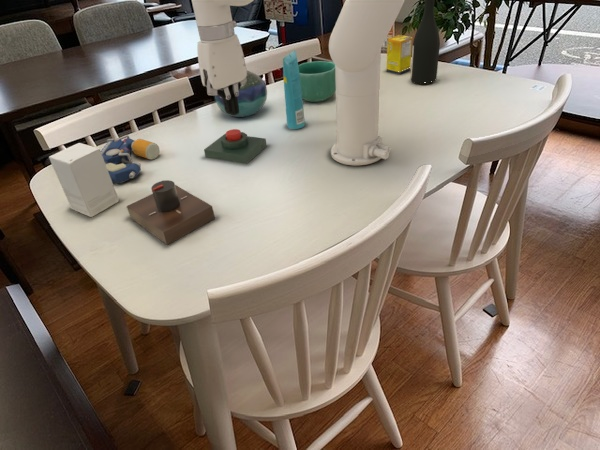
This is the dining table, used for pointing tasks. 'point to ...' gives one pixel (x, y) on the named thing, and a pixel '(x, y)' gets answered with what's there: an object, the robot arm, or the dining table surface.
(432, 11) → the wine bottle
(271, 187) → the dining table surface
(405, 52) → the supplement box
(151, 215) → the panel
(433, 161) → the dining table surface
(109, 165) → the spray gun
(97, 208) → the white packaging box
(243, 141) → the button block
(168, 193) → the dial
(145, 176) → the dining table surface
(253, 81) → the vase
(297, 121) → the tube
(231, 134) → the button
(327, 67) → the mug
